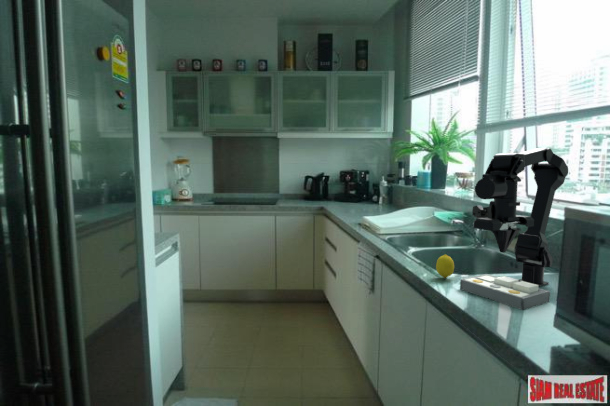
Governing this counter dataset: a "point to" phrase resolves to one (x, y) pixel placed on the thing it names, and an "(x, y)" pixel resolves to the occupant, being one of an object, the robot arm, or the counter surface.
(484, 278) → the button
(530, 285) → the button
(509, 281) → the button
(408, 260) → the counter surface
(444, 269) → the lemon
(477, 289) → the board
